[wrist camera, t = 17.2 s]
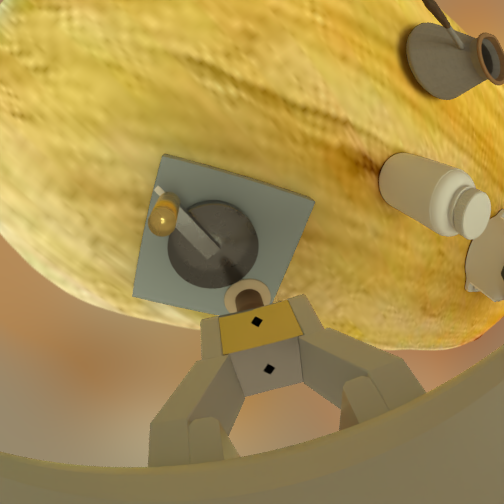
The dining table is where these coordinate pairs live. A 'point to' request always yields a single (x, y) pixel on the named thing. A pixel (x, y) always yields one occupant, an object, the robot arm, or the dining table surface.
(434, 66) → the coffee pot
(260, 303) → the brown bottle
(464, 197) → the pill bottle
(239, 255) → the dial
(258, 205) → the board
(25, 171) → the dining table surface
